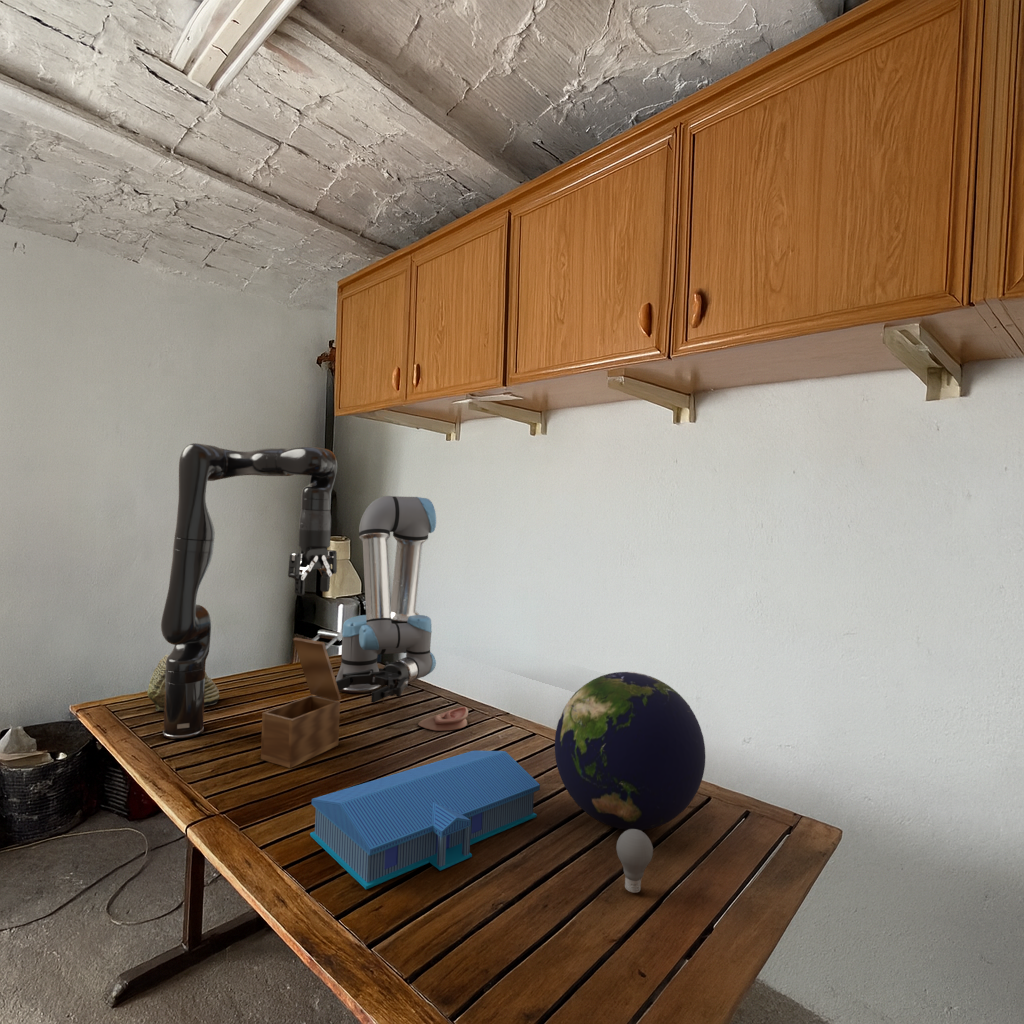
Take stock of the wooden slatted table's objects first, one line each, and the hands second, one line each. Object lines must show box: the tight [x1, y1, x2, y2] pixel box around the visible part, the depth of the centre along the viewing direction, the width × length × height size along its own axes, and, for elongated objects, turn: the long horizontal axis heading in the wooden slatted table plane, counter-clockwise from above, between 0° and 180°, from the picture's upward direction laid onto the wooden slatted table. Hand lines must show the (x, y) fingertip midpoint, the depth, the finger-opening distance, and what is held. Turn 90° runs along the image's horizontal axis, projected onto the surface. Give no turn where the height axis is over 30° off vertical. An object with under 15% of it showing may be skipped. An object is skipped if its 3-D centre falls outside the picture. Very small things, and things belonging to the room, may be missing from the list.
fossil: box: [147, 654, 221, 712], centre depth 185 cm, size 9×18×15 cm, turn 132°
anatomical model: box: [417, 706, 469, 732], centre depth 179 cm, size 13×4×12 cm
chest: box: [260, 694, 341, 769], centre depth 156 cm, size 16×10×11 cm, turn 154°
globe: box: [554, 671, 706, 831], centre depth 128 cm, size 30×30×30 cm
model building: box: [309, 750, 541, 890], centre depth 123 cm, size 39×24×10 cm, turn 132°
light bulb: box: [615, 829, 654, 894], centre depth 106 cm, size 6×6×10 cm
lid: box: [292, 628, 343, 702], centre depth 163 cm, size 17×10×8 cm
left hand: (312, 593), depth 157 cm, fingers open, 8 cm apart
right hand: (352, 692), depth 172 cm, fingers open, 13 cm apart
